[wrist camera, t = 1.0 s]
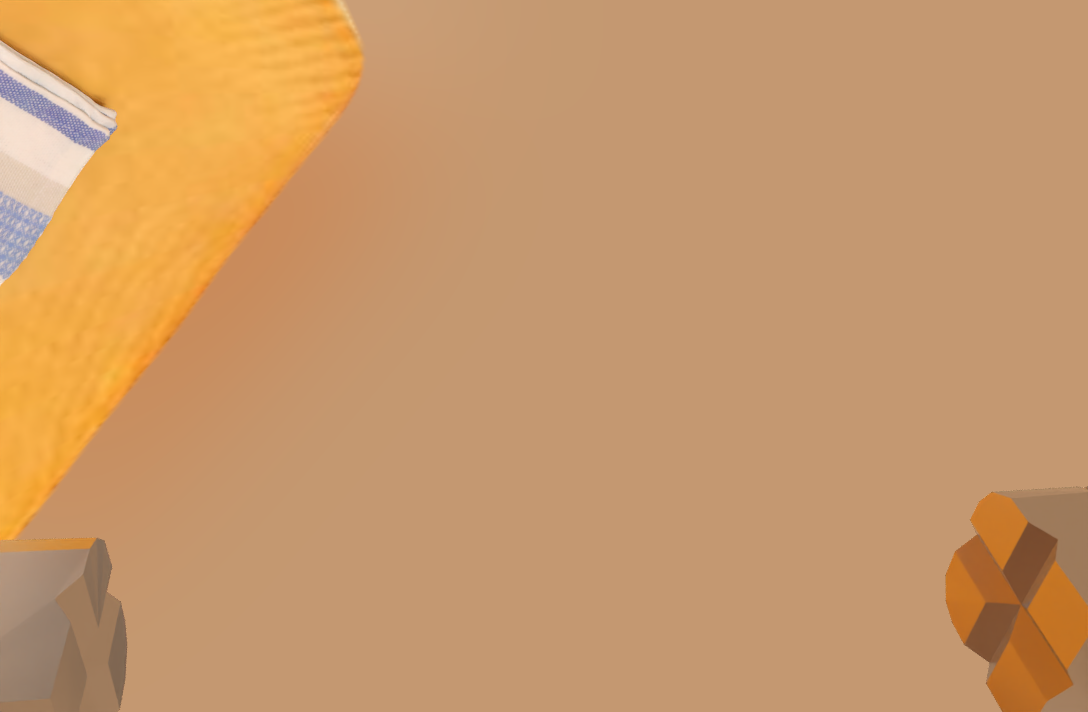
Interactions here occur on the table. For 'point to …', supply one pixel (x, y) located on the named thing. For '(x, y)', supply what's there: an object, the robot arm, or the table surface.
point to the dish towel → (40, 149)
